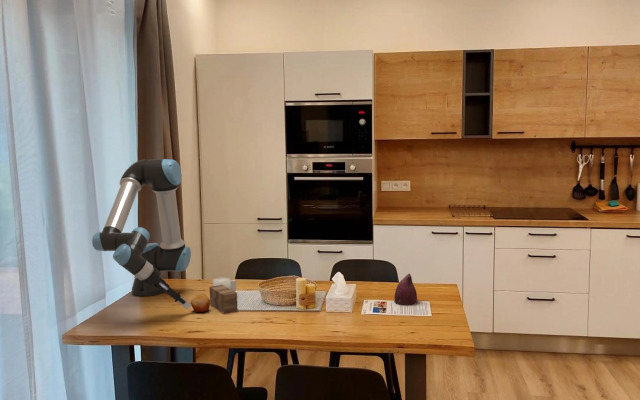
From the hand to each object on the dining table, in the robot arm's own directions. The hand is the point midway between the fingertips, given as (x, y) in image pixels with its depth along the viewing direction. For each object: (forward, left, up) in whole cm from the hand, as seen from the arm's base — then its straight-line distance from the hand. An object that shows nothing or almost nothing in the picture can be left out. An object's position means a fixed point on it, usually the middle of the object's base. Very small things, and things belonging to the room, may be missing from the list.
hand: (189, 306), depth 247 cm
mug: (-13, +21, -3) cm, 25 cm away
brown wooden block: (+1, +15, -3) cm, 15 cm away
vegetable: (+40, +84, -3) cm, 93 cm away
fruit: (0, +5, -3) cm, 6 cm away
